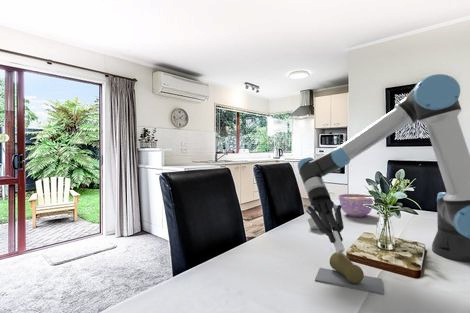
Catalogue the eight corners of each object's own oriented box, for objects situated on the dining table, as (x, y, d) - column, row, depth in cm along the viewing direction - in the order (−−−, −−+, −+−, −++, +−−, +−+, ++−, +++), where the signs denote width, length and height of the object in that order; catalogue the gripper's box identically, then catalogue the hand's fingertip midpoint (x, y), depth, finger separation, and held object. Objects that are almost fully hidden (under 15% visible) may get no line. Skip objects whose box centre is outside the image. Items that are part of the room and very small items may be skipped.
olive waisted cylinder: (331, 272, 85) (349, 289, 74) (328, 254, 85) (345, 268, 74) (348, 267, 86) (368, 284, 75) (345, 250, 85) (365, 264, 75)
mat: (381, 279, 78) (381, 278, 78) (383, 294, 70) (383, 293, 70) (319, 268, 86) (319, 267, 86) (314, 280, 78) (314, 279, 78)
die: (326, 228, 134) (317, 211, 139) (330, 224, 127) (320, 206, 131) (312, 235, 133) (303, 218, 138) (315, 231, 126) (305, 213, 130)
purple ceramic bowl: (375, 213, 162) (375, 195, 162) (373, 221, 145) (373, 200, 145) (341, 210, 172) (341, 193, 172) (335, 217, 155) (335, 197, 155)
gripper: (329, 197, 103) (355, 255, 86) (298, 198, 101) (318, 258, 84) (336, 185, 97) (365, 245, 81) (303, 186, 95) (325, 247, 79)
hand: (341, 251), depth 83 cm, fingers closed
